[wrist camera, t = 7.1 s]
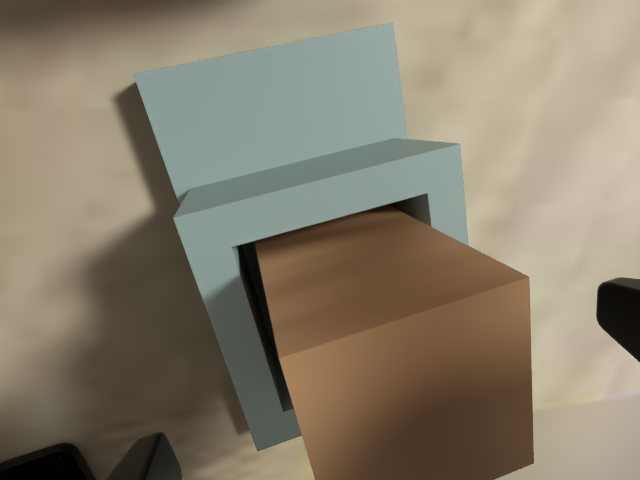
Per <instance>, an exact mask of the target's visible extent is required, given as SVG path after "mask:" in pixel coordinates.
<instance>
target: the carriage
mask: <svg viewBox="0 0 640 480" xmlns="http://www.w3.org/2000/svg"><path fill="white" fill-rule="evenodd" d="M133 75H134V78H135V81H136V83H137V86H138V89H139V92H140V95H141V98H142V100H143V103H144V106H145V109H146V112H147V115H148V118H149V120H150V123H151V126H152V129H153V132H154V135H155V137H156V140H157V143H158V146H159V149H160V152H161V155H162V157H163V160H164V163H165V166H166V169H167V172H168V174H169V177H170V180H171V183H172V186H173V189H174V192H175V194H176V197H177V200H178V203H179V206H180V207H179V209H178V210H177V212H176V214H175V215H174V217H173V219H174V222H175V225H176V227H177V230H178V233H179V236H180V238H181V241H182V244H183V247H184V249H185V252H186V255H187V258H188V261H189V263H190V266H191V269H192V272H193V274H194V277H195V280H196V283H197V285H198V288H199V291H200V294H201V297H202V299H203V302H204V305H205V308H206V310H207V313H208V316H209V319H210V321H211V324H212V327H213V330H214V332H215V335H216V338H217V341H218V344H219V346H220V349H221V352H222V355H223V357H224V360H225V363H226V366H227V368H228V371H229V374H230V377H231V380H232V382H233V385H234V388H235V391H236V393H237V396H238V399H239V402H240V404H241V407H242V410H243V413H244V415H245V418H246V421H247V424H248V427H249V429H250V432H251V435H252V438H253V440H254V443H255V446H256V449H257V451H260V450H263V449H265V448H268V447H271V446H274V445H277V444H279V443H282V442H285V441H288V440H290V439H293V438H296V437H299V436H302V434H301V430H300V427H299V424H298V420H297V417H296V414H295V410H294V407H293V404H292V400H291V397H290V394H289V390H288V387H287V384H286V380H285V377H284V374H283V370H282V367H281V364H280V360H279V357H278V352H277V347H276V342H275V338H274V333H273V328H272V323H271V319H270V314H269V309H268V304H267V300H266V295H265V290H264V285H263V281H262V276H261V271H260V266H259V262H258V257H257V252H256V247H255V242H254V241H255V240H259V239H263V238H266V237H270V236H273V235H277V234H281V233H284V232H288V231H292V230H295V229H299V228H303V227H306V226H310V225H313V224H317V223H321V222H324V221H328V220H332V219H335V218H339V217H342V216H346V215H350V214H353V213H357V212H361V211H364V210H368V209H372V208H375V207H379V206H382V205H386V204H388V205H390V206H392V207H393V208H395V209H397V210H399V211H401V212H403V213H405V214H407V215H409V216H411V217H413V218H415V219H417V220H419V221H421V222H423V223H425V224H427V225H429V226H431V227H433V228H434V229H436V230H438V231H440V232H442V233H444V234H446V235H448V236H450V237H452V238H454V239H456V240H458V241H460V242H462V243H464V244H466V245H468V233H467V221H466V209H465V197H464V185H463V173H462V161H461V149H460V144H457V143H445V142H434V141H423V140H411V139H408V137H407V129H406V121H405V114H404V106H403V98H402V90H401V83H400V75H399V67H398V59H397V52H396V44H395V36H394V28H393V22H392V23H387V24H382V25H377V26H372V27H367V28H362V29H357V30H352V31H347V32H342V33H337V34H332V35H327V36H322V37H317V38H312V39H307V40H302V41H297V42H292V43H287V44H282V45H277V46H272V47H267V48H262V49H257V50H252V51H247V52H242V53H237V54H232V55H227V56H222V57H217V58H212V59H207V60H202V61H197V62H192V63H187V64H182V65H177V66H172V67H167V68H162V69H157V70H152V71H147V72H142V73H137V74H133ZM468 246H469V245H468Z"/></svg>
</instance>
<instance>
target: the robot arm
mask: <svg viewBox="0 0 640 480" xmlns="http://www.w3.org/2000/svg"><path fill="white" fill-rule="evenodd" d="M596 318H597V321H598V323H599V325H600V326H601V328H602V329H603V330H604V331H605V332H607V333H608V334H609V335H610V336H611V337H612V338H613V339H614V340H615V341H617V342H618V343H619V344H620V345H621V346H622V347H623V348H624V349H625V350H627V351H628V352H629V353H630V354H631V355H632V356H633V357H634V358H635V359H637V360H638V361H639V362H640V279H632V278H615V279H612V280H609V281H606V282H603V283H602V284H600V286H599V287H598V291H597V312H596ZM59 457H63V458H66V459H60V458H59ZM0 480H96V479H95V478H94V476H93V474H92V472H91V471H90V469H89V467H88V465H87V464H86V462H85V460H84V459H83V457H82V455H81V453H80V452H79V450H78V449H77V448H76V447H75V446H74V445H71V444H66V443H64V444H59V445H56V446H53V447H50V448H46V449H43V450H40V451H37V452H34V453H31V454H28V455H25V456H22V457H19V458H16V459H13V460H10V461H7V462H4V463H1V464H0ZM105 480H182V474H181V468H180V465H179V462H178V460H177V458H176V456H175V454H174V452H173V450H172V447H171V445H170V443H169V441H168V439H167V437H166V436H165V434H164V433H161V432H158V433H155V434H152V435H149V436H146V437H143V438H141V439H139V440H137V441H136V442H135V443H134V444H133V446H132V447H131V448H130V449H129V451H128V452H127V453H126V454H125V456H124V457H123V458H122V459H121V461H120V462H119V463H118V464H117V466H116V467H115V468H114V469H113V471H112V472H111V473H110V474H109V476H108V477H107V478H106V479H105Z"/></svg>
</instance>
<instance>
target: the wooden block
mask: <svg viewBox="0 0 640 480" xmlns="http://www.w3.org/2000/svg"><path fill="white" fill-rule="evenodd" d="M254 242H255V247H256V252H257V257H258V262H259V266H260V271H261V276H262V281H263V285H264V290H265V295H266V300H267V304H268V309H269V314H270V319H271V323H272V328H273V333H274V338H275V342H276V347H277V352H278V357H279V360H280V364H281V367H282V370H283V374H284V377H285V380H286V384H287V387H288V390H289V394H290V397H291V400H292V404H293V407H294V410H295V414H296V417H297V420H298V424H299V427H300V430H301V434H302V437H303V440H304V444H305V447H306V450H307V454H308V457H309V460H310V463H311V467H312V470H313V473H314V477H315V480H494V479H496V478H499V477H501V476H504V475H506V474H509V473H511V472H513V471H516V470H518V469H521V468H523V467H526V466H528V465H531V464H533V463H534V457H533V456H534V452H533V411H532V369H531V328H530V286H529V277H528V276H526V275H524V274H522V273H520V272H518V271H516V270H514V269H512V268H511V267H509V266H507V265H505V264H503V263H501V262H499V261H497V260H495V259H493V258H491V257H489V256H487V255H485V254H483V253H481V252H479V251H477V250H475V249H473V248H472V247H470V246H468V245H466V244H464V243H462V242H460V241H458V240H456V239H454V238H452V237H450V236H448V235H446V234H444V233H442V232H440V231H438V230H436V229H434V228H433V227H431V226H429V225H427V224H425V223H423V222H421V221H419V220H417V219H415V218H413V217H411V216H409V215H407V214H405V213H403V212H401V211H399V210H397V209H395V208H393V207H392V206H390V205H388V204H386V205H382V206H379V207H375V208H372V209H368V210H364V211H361V212H357V213H353V214H350V215H346V216H342V217H339V218H335V219H332V220H328V221H324V222H321V223H317V224H313V225H310V226H306V227H303V228H299V229H295V230H292V231H288V232H284V233H281V234H277V235H273V236H270V237H266V238H263V239H259V240H255V241H254Z"/></svg>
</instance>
